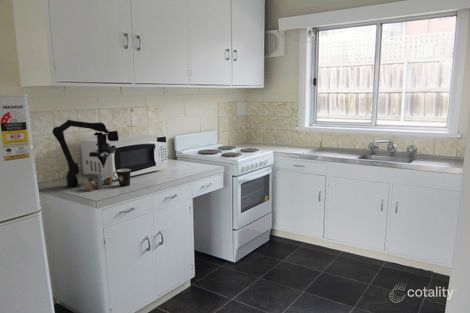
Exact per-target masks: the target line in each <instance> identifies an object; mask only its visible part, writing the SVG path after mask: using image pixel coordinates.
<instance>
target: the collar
mask: <svg viewBox="0 0 470 313" xmlns="http://www.w3.org/2000/svg"><path fill="white" fill-rule="evenodd" d="M102 178H103V177H102V173H100V172H99V173H98V172H89V173H87V182H91V181H93V180H96V183H97V184H95V185H93V190H100V189H103V182H102Z"/></svg>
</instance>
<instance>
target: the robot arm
mask: <svg viewBox="0 0 470 313" xmlns="http://www.w3.org/2000/svg"><path fill="white" fill-rule="evenodd" d="M70 127H73V128H74V127H75V128H76V127H77V128H83V129H90V130H93V131H95V132H94V134H93V136H94V137H95V136H96V144H95V145H96V146H97V149H96V151H89V153H88V156H89V158H97V159H98V160H99V161H100V164H101V165H102V166H105V165H106V164H107V163H106V162H107V159H108V157H109V156H110V155H112V154H115V153H114V151H116V150H117V147H116V145H109V142H119V133H118V130H113V131H112V130H109V129H107V128H106V127H107V126H106V125H105V123H103V121H101V122H100V121H99V122H98V121H97V122H89V121H88V122H87V121H79V120H73V119H67V120H66V121H65V122H63V123H62V124H60V125H59V126H58V125H56V126H55V127H53V129H52V134H53V136H54V138H55V139H56V140H57V142H58V143H59V145H60V147H61V149H62V150H61V151H62V152H63V155H64V157H65V159H66V162H67V166H68V171H67V172H66V173H65V174H66V177H65V179H66V180H65V181H66V185H65V186H64V188H70V187H73V188H76V187H79V185H80V184H79V179H78V176H77V175H78V174H79V173H80V169H81V166H80V165H79V162H78V161H75V159H74V157H73V154H72V152H71V150H70V147H69V145H68V143H67V141H66V138H65V133H64V131H66V130H67V129H69V128H70ZM107 141H109V142H107Z"/></svg>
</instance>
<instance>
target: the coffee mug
mask: <svg viewBox="0 0 470 313" xmlns="http://www.w3.org/2000/svg"><path fill="white" fill-rule="evenodd" d="M115 173H116V175H117V176H115ZM131 173H132V172H131V168H130V169H129V168H120V169H117V170H116V171H114V172H113V173H112V177H114V178H115V179H116V180H117V181H118V184H119V187H122V188H123V187H125V186H126V187H129V186H130V185H131V175H132V174H131Z"/></svg>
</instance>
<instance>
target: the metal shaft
mask: <svg viewBox="0 0 470 313" xmlns="http://www.w3.org/2000/svg"><path fill="white" fill-rule="evenodd" d="M102 183H103V184H104V185H107V184H108V186H111V185H113V175H112V176H110V175H104V176H103V177H102ZM83 185H84V187H83V188H84V191H85V190H86V191H85V192H93V191H94V189H93V185H97V183H96V179H94V180H93V181H91V182H88V181H84V183H83Z"/></svg>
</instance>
